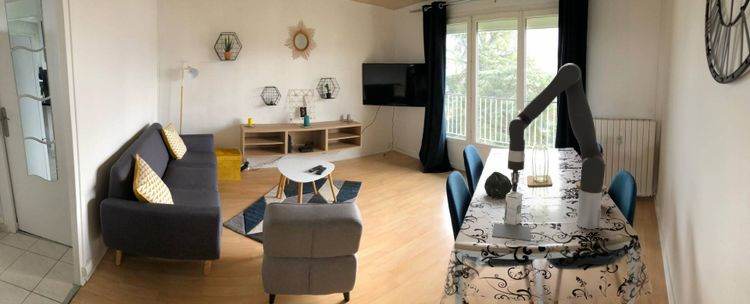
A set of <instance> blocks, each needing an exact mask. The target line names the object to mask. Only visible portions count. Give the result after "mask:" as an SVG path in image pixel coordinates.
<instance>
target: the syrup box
mask: <svg viewBox="0 0 750 304" xmlns="http://www.w3.org/2000/svg"><path fill="white" fill-rule="evenodd" d="M522 203H523V193H521V192H518V191H517V192H513V191H512V190H511V192H509V193H508V194H506V197H505V206H504V221H503V224H507V225H517V226H518V224H520V223H521V219H522V218H521V217H522V205H523V204H522Z"/></svg>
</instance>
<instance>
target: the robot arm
mask: <svg viewBox="0 0 750 304" xmlns="http://www.w3.org/2000/svg"><path fill="white" fill-rule="evenodd" d="M558 69H559V70H558V72H557V73H556V74H555V76H554V77H553V79H552V80H551V81H550V82H549V83H548V85H547V86H546V87H545V88H544V89H543V90H542V91H540V93H538V94H537V95H536V96H535V97H534V98H533V99H532V100H531V101H530V102H528V104H527V105H526V106H525V107H524V109H523V110H522V111H521V112H520V113H519V114H517V116H516V117H515V118H513V119H512V120H510V123H509V125H508V135H509V144H508V145H509V146H508V153H507V154H508V155H507V169H509V170H511V172H510V177H511V180H510V181H511V184H512V189H511V191H513V192H518V184H519V179H520V177H521V176H520V174H521V172H520V171H524V168H525V157H526V155H525V147H526V146H525V145H526V140H525V137H524V136H525V130H526V129H527V128H528V127H529V125H531V123H532V122H533V121H534V120H536V119H537V118H538V117H539V116H540V115H541V114H542V113H543V112H544V111H545V110H546V109H547V108H548V107H549V106H551V104H552V103H553V102H554V100H556V98H557V97H558V96H559V95H560V94H562V93H563V92H564V91H565V95H566V101H567V110H568V111H567V112H568V117H569V122H570V126H571V130H572V132H573V135H574V138H575V139H576V140H577V143H578V145H579V149H580V156H582V159H581V168H580V169H581V171H580V172H581V173H580V180H579V182H580V192H579V195H578V205H577V215H576V216H577V217H576V226H577V225H578V226H577V227H578V228H581V227H582V228H581V229H584V228H586V229H585V230H591V229H593V230H596V229H595V228H599V229H600V226H601V225H600V224H601V215H602V207H601V206H602V201H601V198H602V199H603V197H602V188H603V184H604V179H605V172H606V170H605V169H606V166H605V165H606V164H605V161H604V158H603V157H602V155H601V153H602V152H601V150H600V148H599V145H598V142H597V141H598V140H597V135H596V127H595V122H594V121H595V120H594V118H593V114H592V113H593V112H592V111H591V107H590V105H589V102H588V99H587V96H586V94H585V90H584V85H583V77H582V70H581V68H580V67H579V66H578V65H577V64H575V63H573V62H571V63H570V62H569V63H565V64H564V65H562V66H561V67H559V68H558Z"/></svg>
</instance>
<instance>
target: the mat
mask: <svg viewBox="0 0 750 304" xmlns="http://www.w3.org/2000/svg"><path fill="white" fill-rule="evenodd" d="M491 234H492V235H491V237H492V238H500V239H501V238H502V239H509V240H510V239H512V240H519V241H520V240H521V241H527V242H528V241H529V242H531V226H524V225H518V224H517V225H511V224H506V223H493V228H492V233H491Z"/></svg>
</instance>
